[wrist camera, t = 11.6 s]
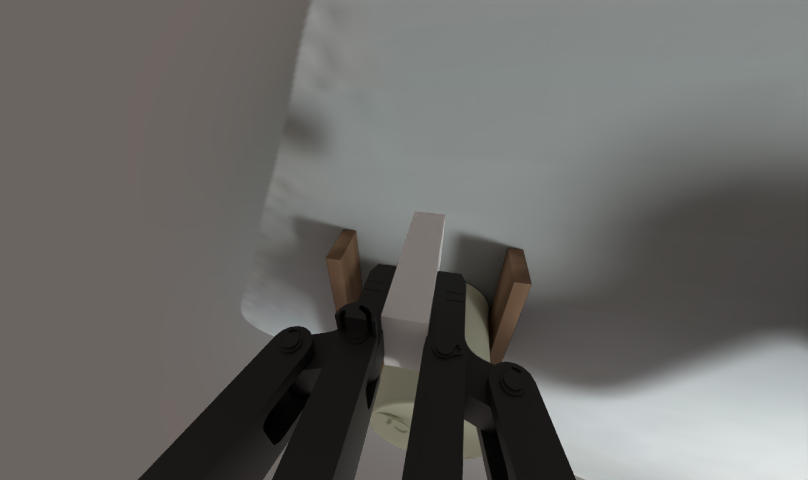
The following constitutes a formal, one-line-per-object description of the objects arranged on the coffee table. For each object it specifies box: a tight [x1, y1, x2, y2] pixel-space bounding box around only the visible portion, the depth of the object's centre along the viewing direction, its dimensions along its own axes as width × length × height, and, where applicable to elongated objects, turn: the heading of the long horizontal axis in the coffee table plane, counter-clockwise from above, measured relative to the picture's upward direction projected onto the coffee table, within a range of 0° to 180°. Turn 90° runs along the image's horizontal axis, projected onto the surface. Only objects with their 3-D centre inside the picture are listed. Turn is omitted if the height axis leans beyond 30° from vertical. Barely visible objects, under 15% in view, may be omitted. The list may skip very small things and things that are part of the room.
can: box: [370, 283, 490, 460], centre depth 25 cm, size 9×9×12 cm
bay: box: [326, 230, 532, 374], centre depth 28 cm, size 15×17×4 cm
